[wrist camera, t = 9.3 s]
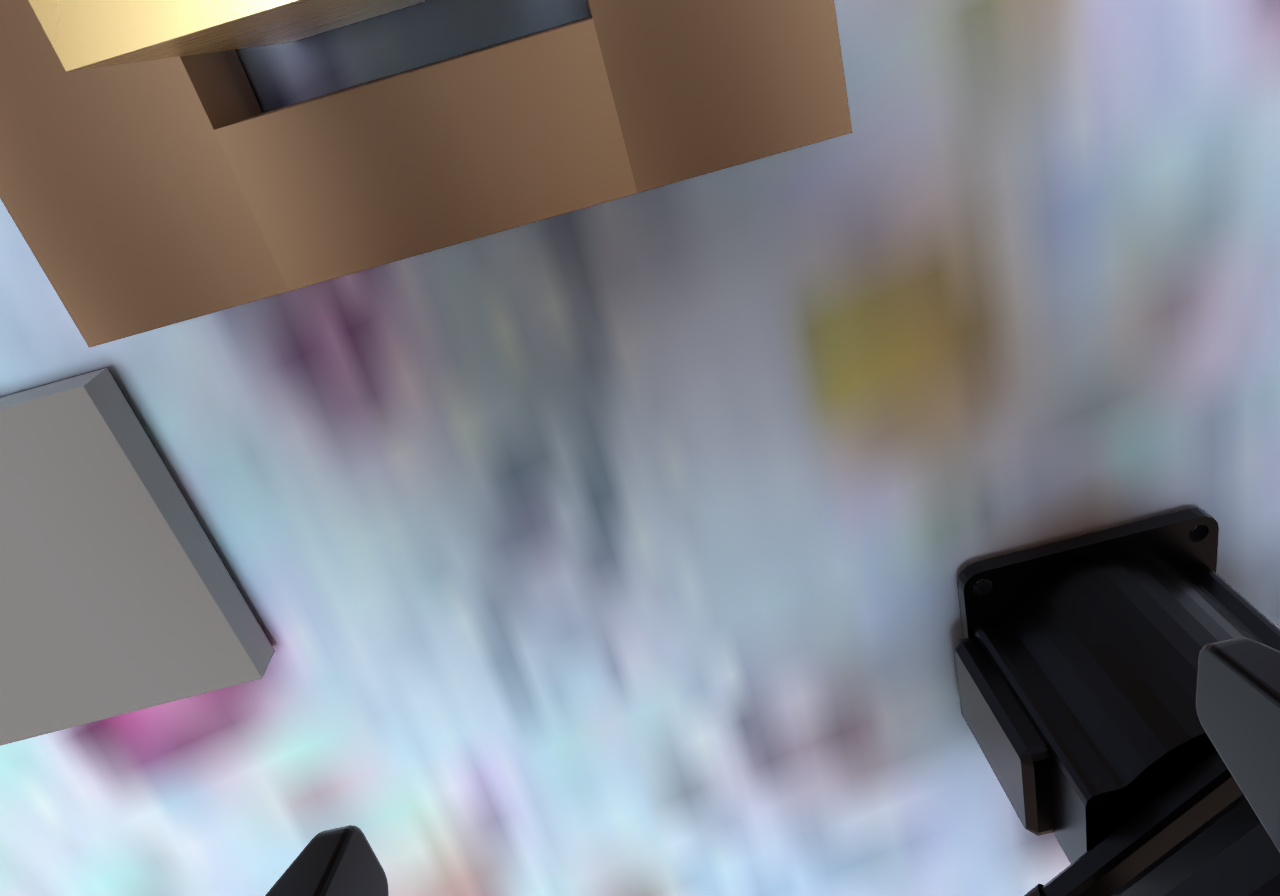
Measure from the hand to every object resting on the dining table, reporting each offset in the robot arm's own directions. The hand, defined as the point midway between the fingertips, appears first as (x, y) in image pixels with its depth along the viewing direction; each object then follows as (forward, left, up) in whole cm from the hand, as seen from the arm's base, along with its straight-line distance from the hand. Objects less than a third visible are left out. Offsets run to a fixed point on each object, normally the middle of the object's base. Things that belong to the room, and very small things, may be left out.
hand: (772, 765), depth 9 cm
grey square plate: (+15, +1, -11) cm, 19 cm away
